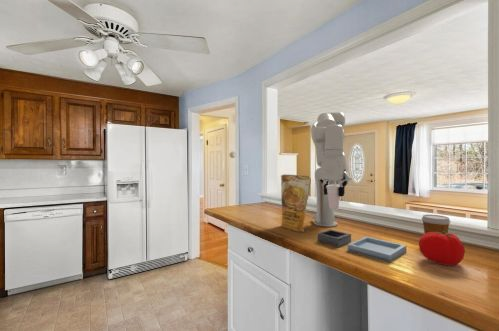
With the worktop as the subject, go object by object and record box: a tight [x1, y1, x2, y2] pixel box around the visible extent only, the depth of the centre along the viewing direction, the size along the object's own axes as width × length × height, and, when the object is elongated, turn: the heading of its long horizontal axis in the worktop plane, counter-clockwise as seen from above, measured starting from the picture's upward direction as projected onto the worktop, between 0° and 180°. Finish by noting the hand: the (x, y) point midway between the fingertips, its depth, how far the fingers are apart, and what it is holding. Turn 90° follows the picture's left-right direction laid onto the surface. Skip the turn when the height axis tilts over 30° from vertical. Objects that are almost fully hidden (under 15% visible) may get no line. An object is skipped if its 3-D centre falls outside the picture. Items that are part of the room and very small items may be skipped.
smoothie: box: [326, 180, 341, 210], centre depth 108 cm, size 6×6×14 cm
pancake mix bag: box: [280, 174, 312, 233], centre depth 131 cm, size 7×19×28 cm, turn 35°
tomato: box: [418, 231, 466, 266], centre depth 86 cm, size 13×12×11 cm
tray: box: [347, 236, 407, 263], centre depth 96 cm, size 15×15×2 cm
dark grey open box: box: [316, 228, 352, 248], centre depth 108 cm, size 10×10×4 cm
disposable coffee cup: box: [421, 214, 452, 234], centre depth 102 cm, size 10×10×12 cm
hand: (333, 194), depth 108 cm, fingers closed on smoothie, 6 cm apart
